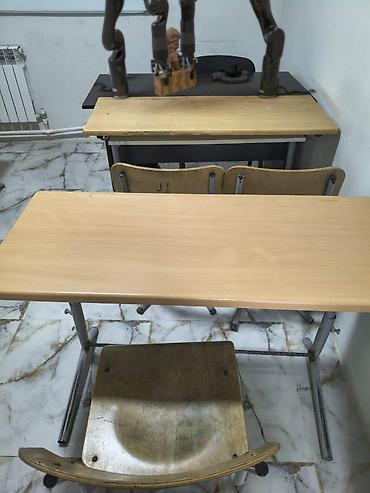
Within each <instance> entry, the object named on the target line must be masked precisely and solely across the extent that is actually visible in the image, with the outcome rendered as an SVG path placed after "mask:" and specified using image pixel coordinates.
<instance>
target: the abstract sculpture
mask: <svg viewBox="0 0 370 493" xmlns="http://www.w3.org/2000/svg"><path fill="white" fill-rule="evenodd" d="M218 71H219V72H214V73H211V77H212V82H214V83H216V82H217V81H218V82H219V81H221V82H222V83H225V84H229V85H231V84H244V83H246V82H247V83H248V82H249V81H250V77H249V76H250V72H249V71H248V70H244V67H243V66H239V65H238V63H237V62H235V61H234V60H230V61H229V68H228V67H220V68H219V70H218Z"/></svg>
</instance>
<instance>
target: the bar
mask: <svg viewBox="0 0 370 493" xmlns="http://www.w3.org/2000/svg"><path fill="white" fill-rule="evenodd" d="M169 74H170V73H169ZM166 75H167V73H166ZM153 81H154V82H153V83H154V94H155V95H156V96H159V97H164V96H169V95H172V94H174V93H177V92H180V91H184V90H188V89H190V88H194V87H196V86H197V82H196V81H197V71H194V79H192V80H191V79H190V69H189V67H187V68H185V69H181V70H177V71H174V72H172V77H169V86H165V77H164V74H162V73H161V74H159V75H158V76H155V75H154V76H153Z"/></svg>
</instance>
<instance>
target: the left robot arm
mask: <svg viewBox="0 0 370 493" xmlns="http://www.w3.org/2000/svg"><path fill="white" fill-rule="evenodd" d="M125 2H126V0H104V15H103V24H102V31H101V44H102V47H103V49H104V50H105V51H107V52H112V53H111V54H110V56H109V57H108V58H107V64H108V66H109V71H110V75H109V76H110V83H111V88H108V89H107V88H106V84H105V83H103V82H100V81H96V82H94V83H93V85H94V86H96V85H98V84H99V85H101V86H100V87H99V91H102V92H112V97H113V98H114V99H125V98H128V97H130V90H129V89H130V88H129V82H128V81H129V79H128V74H127V66H126V65H127V64H126V58H127V50H126V41H125V39H126V38H125V36H124V33H123V32H122V30H121V29H119V28H116V25H117V21H118V19H119V18H120V15H121V14H122V12H123V9H124V6H125ZM143 4H144V8H145V11H146V13H147V14H148V15H149V16H151V17H156V20H154V21H153V22H151V24H150V32H151V33H150V34H151V52H152V59H151V60H150V68H151V69H150V70H151V73H152V74H153V75H154V77H155V76H158V75H160V72H161V75H162V74H164V77H165V86H169V77H172V64H171V63H167V58H168V41H167V31H166V30H167V24H168V19H169V11H170V4H169V0H143ZM165 70H166V71H165ZM169 72H170V74H169ZM166 73H167V75H166ZM104 88H106V89H104Z"/></svg>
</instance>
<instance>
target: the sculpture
mask: <svg viewBox="0 0 370 493" xmlns="http://www.w3.org/2000/svg"><path fill="white" fill-rule="evenodd" d="M166 31H167V41H168V58H167V63H171V64H172V72H174V71H177V70H181V69H182V68H180V66H179V60H178V56H179V55H180V53H179V52H178V51H177V50H178V49H179V48H180V47H179V46H180V30H178V29H177V28H174V27H168V28H166ZM181 65H182V62H181ZM165 71H166V70H165ZM169 73H170V72H169ZM197 82H198V81H197V80H196V83H197Z"/></svg>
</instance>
